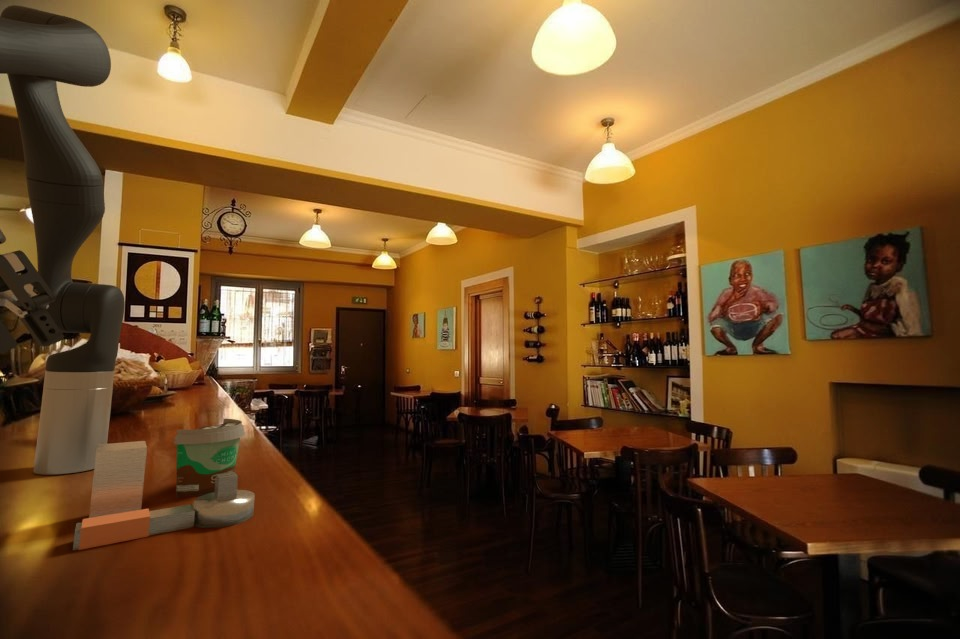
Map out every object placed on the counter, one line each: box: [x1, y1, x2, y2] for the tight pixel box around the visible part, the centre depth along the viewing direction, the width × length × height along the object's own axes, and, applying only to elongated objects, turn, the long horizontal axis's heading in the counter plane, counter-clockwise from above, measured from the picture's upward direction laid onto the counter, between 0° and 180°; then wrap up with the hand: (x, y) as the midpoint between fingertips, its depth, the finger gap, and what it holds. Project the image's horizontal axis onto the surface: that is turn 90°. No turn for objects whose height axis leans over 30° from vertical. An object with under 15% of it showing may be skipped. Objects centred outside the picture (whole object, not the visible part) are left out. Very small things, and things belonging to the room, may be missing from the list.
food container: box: [173, 418, 246, 498], centre depth 69 cm, size 12×6×10 cm, turn 179°
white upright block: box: [88, 440, 148, 518], centre depth 56 cm, size 5×5×9 cm
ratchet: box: [72, 471, 256, 551], centre depth 53 cm, size 7×18×6 cm, turn 131°
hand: (29, 346), depth 50 cm, fingers open, 8 cm apart
